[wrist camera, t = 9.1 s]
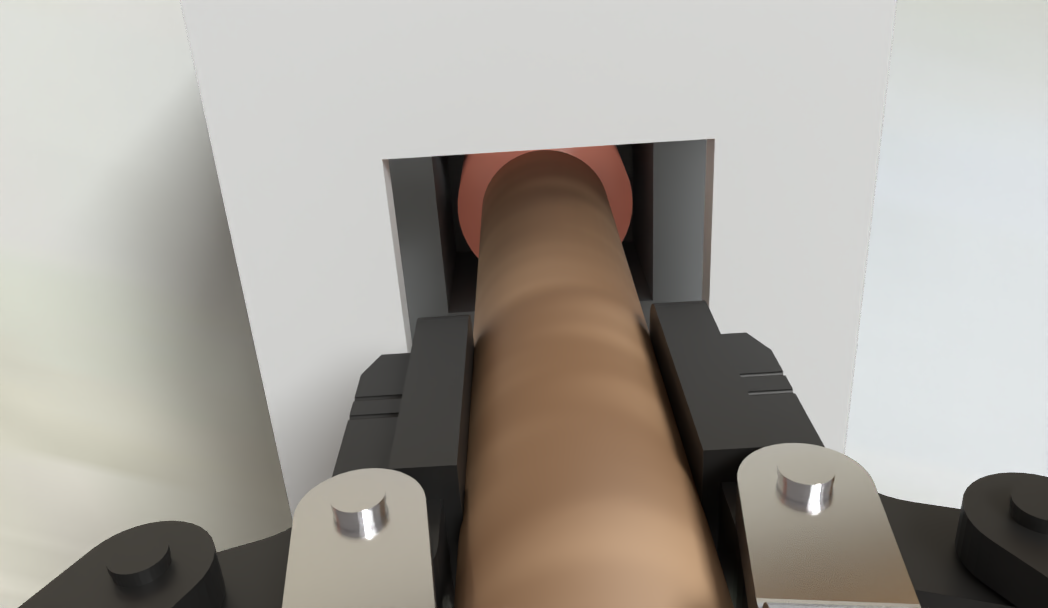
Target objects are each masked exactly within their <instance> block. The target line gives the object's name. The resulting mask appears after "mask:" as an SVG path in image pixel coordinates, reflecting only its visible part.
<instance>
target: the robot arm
mask: <svg viewBox="0 0 1048 608" xmlns="http://www.w3.org/2000/svg"><path fill="white" fill-rule="evenodd" d="M649 336H650V339H651V342H652V345H653V349H654V352H655V355H656V359H657V362H658V365H659V368H660V372H661V375H662V378H663V381H664V385H665V388H666V391H667V394H668V398H669V401H670V404H671V407H672V411H673V414H674V417H675V420H676V424H677V427H678V430H679V433H680V437H681V440H682V443H683V446H684V450H685V453H686V456H687V459H688V463H689V466H690V469H691V472H692V476H693V479H694V482H695V485H696V489H697V492H698V495H699V498H700V502H701V505H702V508H703V510H704V513H705V515H706V518H707V522H708V525H709V528H710V531H711V535H712V538H713V541H714V544H715V547H716V551H717V554H718V557H719V560H720V564H721V567H722V570H723V573H724V577H725V580H726V583H727V586H728V590H729V593H730V596H731V599H732V603H733V606H734V608H1048V477H1045V476H1040V475H1035V474H1027V473H998V474H993V475H988V476H985V477H983V478H980V479H978V480H976V481H975V482H973V483H972V484H971V485H970V486H969V487H968V488H967V489H966V491H965V493H964V495H963V501H962V506H961V509H956V508H949V507H942V506H936V505H929V504H922V503H916V502H910V501H904V500H899V499H895V498H892V497H888V496H885V495H882V494H880V493H878V492H877V489H876V487H875V484H874V482H873V480H872V478H871V476H870V475H869V473H868V472H867V471H866V470H865V469H864V468H863V467H862V466H861V465H860V464H859V463H857V462H856V461H854V460H853V459H851V458H850V457H848V456H846V455H844V454H842V453H840V452H837V451H835V450H832V449H829V448H825V446H824V444H823V443H822V441H821V439H820V437H819V435H818V434H817V432H816V430H815V428H814V426H813V424H812V423H811V421H810V419H809V417H808V415H807V414H806V412H805V410H804V408H803V406H802V404H801V403H800V401H799V399H798V397H797V395H796V394H795V393H793V388H792V386H791V384H790V383H789V381H788V379H787V377H786V375H783V370H782V368H781V366H780V364H779V363H778V361H777V359H776V357H775V355H774V354H773V352H772V350H771V349H770V348H768V347H767V346H765V345H764V344H762V343H761V342H759V341H758V340H756V339H755V338H754V337H752V336H751V335H749V334H748V333H746V332H744V333H728V334H721V333H720V331H719V328H718V326H717V324H716V322H715V320H714V318H713V315H712V313H711V311H710V309H709V307H708V305H707V303H706V301H705V300H700V301H684V302H668V303H652V304H651V308H650V324H649ZM473 359H474V339H473V329H472V322H471V317H470V315H454V316H438V317H422V318H418V319H417V322H416V328H415V333H414V338H413V343H412V348H411V353H399V354H383V355H381V356H380V357H379V358H377V359H376V360H375V361H374V362H373V363H372V364H371V365H370V366H369V367H368V368H367V369H366V370H365V371H364V372H363V373H362V374H361V376H360V380H359V383H358V387H357V390H356V394H355V401H353V404H352V408H351V411H350V415H349V417H350V420H348V422H347V425H346V429H345V432H344V436H343V439H342V443H341V446H340V450H339V453H338V457H337V460H336V464H335V468H334V471H333V475H332V478H329V479H327V480H325V481H323V482H322V483H320V484H318V485H317V486H315V487H314V488H313V489H311V490H310V491H309V492H308V493H307V494H306V495H305V496H304V497H303V498H302V499H301V501H300V502H299V503H298V505H297V507H296V509H295V512H294V516H293V523H292V527H291V528H289V529H288V530H286V531H284V532H281V533H279V534H277V535H275V536H272V537H269V538H266V539H263V540H260V541H256V542H253V543H249V544H246V545H242V546H238V547H235V548H231V549H228V550H224V551H221V552H216V549H215V545H214V542H213V540H212V537H211V536H210V535H209V534H208V532H207V531H205V530H204V529H202V528H201V527H199V526H197V525H194V524H191V523H187V522H181V521H161V522H154V523H148V524H144V525H140V526H137V527H134V528H131V529H128V530H125V531H123V532H121V533H119V534H116V535H114V536H112V537H111V538H109V539H107V540H105V541H104V542H102V543H100V544H99V545H98V546H96V547H95V548H93V549H92V550H91V551H89V552H88V553H87V554H86V555H84V556H83V557H82V558H81V559H79V560H78V561H77V562H75V563H74V564H73V565H72V566H70V567H69V568H68V569H67V570H65V571H64V572H63V573H61V574H60V575H59V576H58V577H56V578H55V579H54V580H53V581H51V582H50V583H49V584H48V585H46V586H45V587H44V588H42V589H41V590H40V591H39V592H37V593H36V594H35V595H34V596H32V597H31V598H30V599H29V600H27V601H26V602H25V603H23V604H22V605H21V606H20V607H18V608H454V598H455V583H456V569H457V555H458V542H459V534H460V528H461V525H462V522H463V511H464V496H465V481H466V466H467V451H468V435H469V420H470V405H471V390H472V374H473Z"/></svg>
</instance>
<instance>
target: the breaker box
mask: <svg viewBox="0 0 1048 608" xmlns="http://www.w3.org/2000/svg"><path fill="white" fill-rule="evenodd" d="M180 4H181V8H182V13H183V18H184V22H185V27H186V32H187V36H188V41H189V45H190V50H191V55H192V59H193V64H194V68H195V73H196V78H197V82H198V87H199V91H200V96H201V101H202V105H203V110H204V115H205V119H206V124H207V128H208V133H209V138H210V142H211V147H212V151H213V156H214V161H215V165H216V170H217V174H218V179H219V184H220V188H221V193H222V198H223V202H224V207H225V211H226V216H227V221H228V225H229V230H230V234H231V239H232V244H233V248H234V253H235V257H236V262H237V267H238V271H239V276H240V281H241V285H242V290H243V294H244V299H245V304H246V308H247V313H248V317H249V322H250V327H251V331H252V336H253V340H254V345H255V350H256V354H257V359H258V364H259V368H260V373H261V377H262V382H263V387H264V391H265V396H266V400H267V405H268V410H269V414H270V419H271V424H272V428H273V433H274V437H275V442H276V447H277V451H278V456H279V460H280V465H281V470H282V474H283V479H284V483H285V488H286V493H287V497H288V502H289V507H290V511H291V516H292V520H293V516H294V512H295V509H296V507H297V505H298V503H299V502H300V501H301V499H302V498H303V497H304V496H305V495H306V494H307V493H308V492H309V491H310V490H311V489H313V488H314V487H315V486H317V485H318V484H320V483H322V482H323V481H325V480H327V479H329V478H332V475H333V471H334V468H335V464H336V460H337V457H338V453H339V450H340V446H341V443H342V439H343V436H344V432H345V429H346V425H347V422H348V420H350V417H349V415H350V411H351V408H352V404H353V401H355V394H356V390H357V387H358V383H359V380H360V376H361V374H362V373H363V372H364V371H365V370H366V369H367V368H368V367H369V366H370V365H371V364H372V363H373V362H374V361H375V360H376V359H377V358H379V357H380V356H381V355H383V354H399V353H411V348H412V343H413V338H414V333H415V328H416V322H417V319H418V318H422V317H438V316H454V315H470V317H471V322H472V329H473V330H474V316H475V302H476V288H477V274H478V257H477V256H476V255H475V254H474V253H473V251H472V250H471V248H470V247H469V245H468V243H467V241H466V239H465V237H464V235H463V232H462V229H461V226H460V222H459V216H458V194H459V187H460V180H461V173H462V166H463V160H464V154H477V153H493V152H509V151H525V150H541V149H557V148H573V147H589V146H605V145H616V147H617V149H618V152H619V154H620V157H621V159H622V162H623V165H624V167H625V170H626V172H627V175H628V178H629V180H630V185H631V190H632V199H633V205H632V215H631V220H630V225H629V227H628V230H627V233H626V235H625V237H624V239H623V241H622V246H623V249H624V253H625V256H626V259H627V262H628V266H629V269H630V272H631V275H632V279H633V282H634V285H635V288H636V292H637V295H638V298H639V301H640V304H641V308H642V311H643V314H644V317H645V321H646V324H647V327H648V330H649V324H650V308H651V304H652V303H668V302H684V301H700V300H705V301H706V303H707V305H708V307H709V309H710V311H711V313H712V315H713V318H714V320H715V322H716V324H717V326H718V328H719V331H720V333H721V334H728V333H744V332H746V333H748V334H749V335H751V336H752V337H754V338H755V339H756V340H758V341H759V342H761V343H762V344H764V345H765V346H767V347H768V348H770V349H771V350H772V352H773V354H774V355H775V357H776V359H777V361H778V363H779V364H780V366H781V368H782V370H783V375H786V377H787V379H788V381H789V383H790V384H791V386H792V388H793V393H795V394H796V395H797V397H798V399H799V401H800V403H801V404H802V406H803V408H804V410H805V412H806V414H807V415H808V417H809V419H810V421H811V423H812V424H813V426H814V428H815V430H816V432H817V434H818V435H819V437H820V439H821V441H822V443H823V444H824V446H825V448H829V449H832V450H835V451H837V452H840V453H842V454H845V445H846V436H847V428H848V419H849V411H850V402H851V393H852V385H853V376H854V368H855V359H856V350H857V342H858V333H859V325H860V316H861V308H862V299H863V290H864V282H865V273H866V265H867V256H868V247H869V239H870V230H871V222H872V213H873V204H874V196H875V187H876V179H877V170H878V161H879V153H880V144H881V136H882V127H883V119H884V110H885V101H886V93H887V84H888V76H889V67H890V58H891V50H892V41H893V33H894V24H895V15H896V7H897V0H180Z"/></svg>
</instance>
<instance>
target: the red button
mask: <svg viewBox="0 0 1048 608" xmlns="http://www.w3.org/2000/svg"><path fill="white" fill-rule="evenodd" d="M541 150H554V151H560V152H564V153H568V154H570V155H572V156H575V157H577V158H578V159H580V160H582V161H583V162H585V163H586V164H587V165H588V166H589V167H590V168H591V169H592V170H593V171H594V172H595V173H596V174H597V176H598V177H599V178H600V180H601V182H602V184H603V186H604V189H605V191H606V194H607V198H608V201H609V204H610V207H611V211H612V214H613V217H614V220H615V224H616V227H617V230H618V233H619V236H620V240H621V243H622V241H623V239H624V237H625V235H626V233H627V230H628V227H629V225H630V220H631V215H632V205H633V199H632V190H631V185H630V180H629V178H628V175H627V172H626V170H625V167H624V165H623V162H622V159H621V157H620V154H619V152H618V149H617V147H616V145H605V146H589V147H573V148H557V149H541ZM532 151H539V150H525V151H509V152H493V153H477V154H464V160H463V166H462V173H461V180H460V187H459V194H458V216H459V222H460V226H461V229H462V232H463V235H464V237H465V239H466V241H467V243H468V245H469V247H470V248H471V250H472V251H473V253H474V254H475V255H476V256H477V257H478V259H479V245H480V231H481V217H482V205H483V198H484V195H485V191H486V189H487V187H488V184H489V183H490V181H491V179H492V178H493V176H494V175H495V174H496V173H497V171H498V170H499V169H500V168H501V167H502V166H503V165H505V164H506V163H508V162H509V161H510V160H512V159H514V158H516V157H517V156H520V155H522V154H525V153H528V152H532Z"/></svg>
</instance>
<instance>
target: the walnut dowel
mask: <svg viewBox="0 0 1048 608" xmlns="http://www.w3.org/2000/svg"><path fill="white" fill-rule="evenodd" d="M473 339H474V359H473V374H472V390H471V405H470V420H469V435H468V451H467V466H466V481H465V496H464V511H463V522H462V525H461V528H460V534H459V542H458V555H457V569H456V583H455V598H454V608H734V606H733V603H732V599H731V596H730V593H729V590H728V586H727V583H726V580H725V577H724V573H723V570H722V567H721V564H720V560H719V557H718V554H717V551H716V547H715V544H714V541H713V538H712V535H711V531H710V528H709V525H708V522H707V518H706V515H705V513H704V510H703V508H702V505H701V502H700V498H699V495H698V492H697V489H696V485H695V482H694V479H693V476H692V472H691V469H690V466H689V463H688V459H687V456H686V453H685V450H684V446H683V443H682V440H681V437H680V433H679V430H678V427H677V424H676V420H675V417H674V414H673V411H672V407H671V404H670V401H669V398H668V394H667V391H666V388H665V385H664V381H663V378H662V375H661V372H660V368H659V365H658V362H657V359H656V355H655V352H654V349H653V345H652V342H651V339H650V336H649V330H648V327H647V324H646V321H645V317H644V314H643V311H642V308H641V304H640V301H639V298H638V295H637V292H636V288H635V285H634V282H633V279H632V275H631V272H630V269H629V266H628V262H627V259H626V256H625V253H624V249H623V246H622V243H621V240H620V236H619V233H618V230H617V227H616V224H615V220H614V217H613V214H612V211H611V207H610V204H609V201H608V198H607V194H606V191H605V189H604V186H603V184H602V182H601V180H600V178H599V177H598V176H597V174H596V173H595V172H594V171H593V170H592V169H591V168H590V167H589V166H588V165H587V164H586V163H585V162H583V161H582V160H580V159H578V158H577V157H575V156H572V155H570V154H568V153H564V152H560V151H554V150H539V151H532V152H528V153H525V154H522V155H520V156H517V157H516V158H514V159H512V160H510V161H509V162H508V163H506V164H505V165H503V166H502V167H501V168H500V169H499V170H498V171H497V173H496V174H495V175H494V176H493V178H492V179H491V181H490V183H489V184H488V187H487V189H486V191H485V195H484V198H483V205H482V217H481V231H480V245H479V259H478V274H477V288H476V302H475V316H474V330H473Z"/></svg>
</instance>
